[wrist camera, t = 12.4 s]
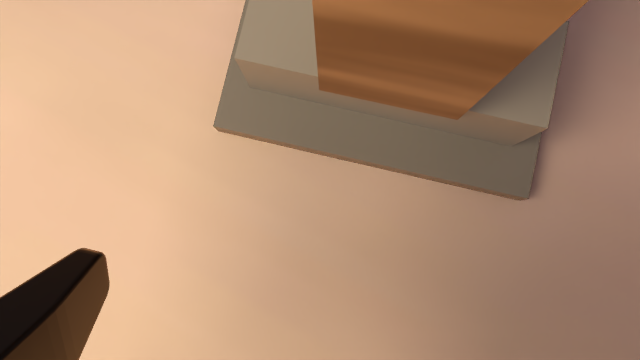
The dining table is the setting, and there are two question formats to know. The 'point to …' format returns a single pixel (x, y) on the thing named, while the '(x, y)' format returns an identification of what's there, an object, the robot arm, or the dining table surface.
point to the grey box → (383, 109)
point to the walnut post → (428, 48)
